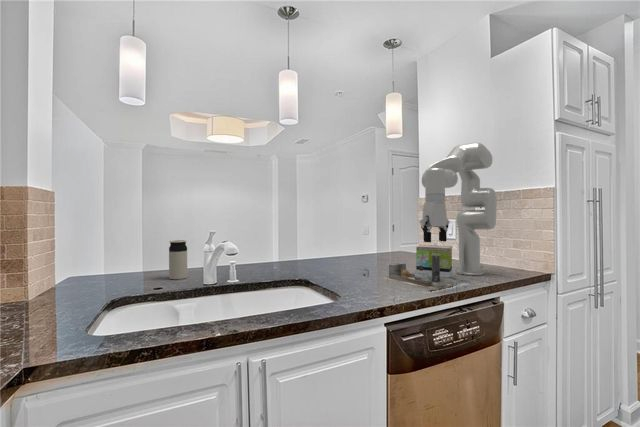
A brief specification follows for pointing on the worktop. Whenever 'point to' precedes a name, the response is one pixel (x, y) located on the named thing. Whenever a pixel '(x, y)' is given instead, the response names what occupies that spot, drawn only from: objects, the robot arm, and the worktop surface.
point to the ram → (433, 274)
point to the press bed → (396, 276)
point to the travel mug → (178, 259)
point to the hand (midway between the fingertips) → (435, 241)
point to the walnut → (405, 273)
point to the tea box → (425, 259)
